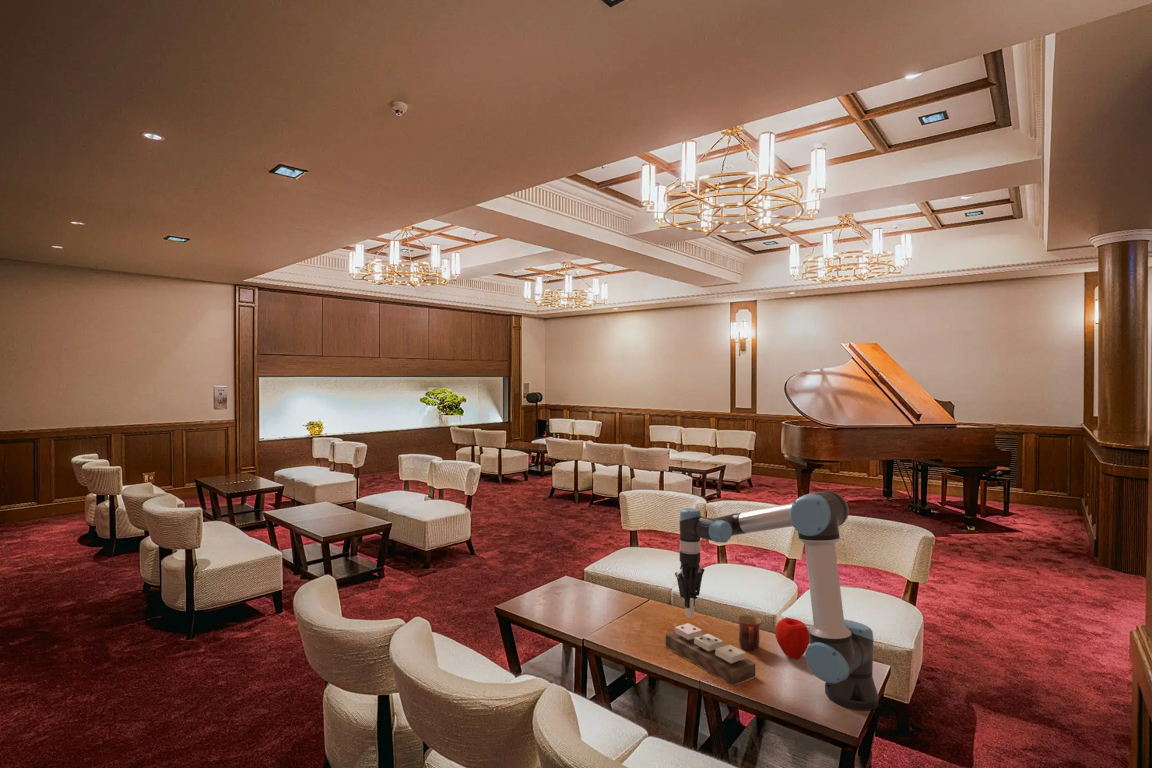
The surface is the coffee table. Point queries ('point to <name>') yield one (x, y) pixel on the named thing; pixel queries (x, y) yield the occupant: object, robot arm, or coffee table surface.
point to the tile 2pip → (688, 631)
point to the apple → (792, 637)
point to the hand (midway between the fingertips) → (689, 616)
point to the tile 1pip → (730, 654)
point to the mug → (749, 632)
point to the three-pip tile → (708, 642)
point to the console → (711, 661)
